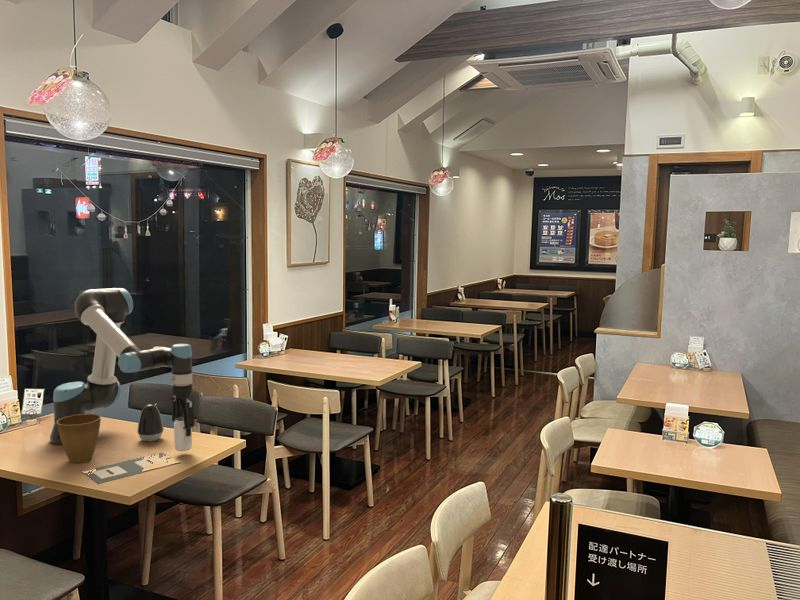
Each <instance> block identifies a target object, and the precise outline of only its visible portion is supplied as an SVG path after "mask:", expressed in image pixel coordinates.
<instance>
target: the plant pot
mask: <svg viewBox="0 0 800 600" xmlns="http://www.w3.org/2000/svg"><path fill="white" fill-rule="evenodd" d="M101 421H102V420H101V415H99V414H97V413H85V414H79V415H73V416H68V417H64V418H61V419H59V420H58V421H57V427H58V431H59V435H60V439H61V442H62V448H63V450H64V452H65V454H66V456H67V458H68V461H69V462H70V463H72V464H82V462H83V463H86V461H87V462H89V461H91V460H92V459H93V456H94V453H95V451H96V446H97V442H98V439H99V436H100V435H99V433H100V428H101Z"/></svg>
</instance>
